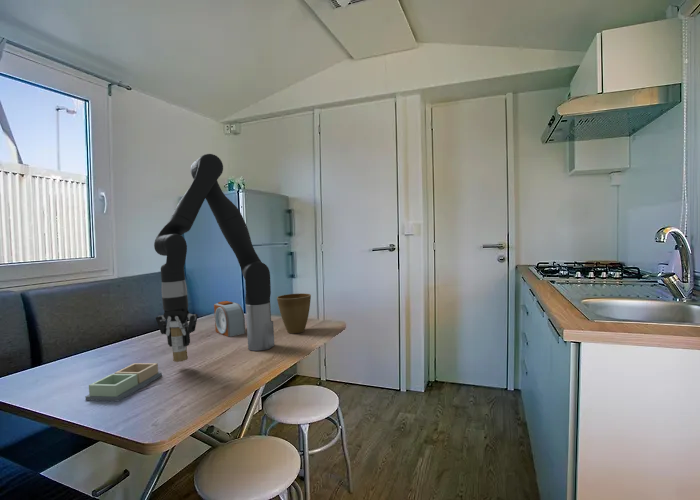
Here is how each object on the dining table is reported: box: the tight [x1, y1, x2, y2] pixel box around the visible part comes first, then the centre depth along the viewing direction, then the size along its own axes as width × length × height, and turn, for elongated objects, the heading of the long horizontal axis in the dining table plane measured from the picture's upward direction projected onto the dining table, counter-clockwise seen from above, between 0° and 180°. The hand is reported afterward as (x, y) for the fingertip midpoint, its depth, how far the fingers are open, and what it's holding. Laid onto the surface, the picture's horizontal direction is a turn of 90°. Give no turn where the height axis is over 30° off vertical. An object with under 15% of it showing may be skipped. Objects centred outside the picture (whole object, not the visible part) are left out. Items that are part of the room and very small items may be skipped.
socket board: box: [84, 362, 163, 402], centre depth 110 cm, size 10×18×4 cm, turn 171°
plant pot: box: [276, 292, 312, 335], centre depth 164 cm, size 15×15×16 cm
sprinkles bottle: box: [170, 321, 189, 363], centre depth 123 cm, size 5×5×14 cm
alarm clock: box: [213, 300, 247, 338], centre depth 168 cm, size 15×8×14 cm, turn 43°
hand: (179, 345), depth 123 cm, fingers closed on sprinkles bottle, 4 cm apart
